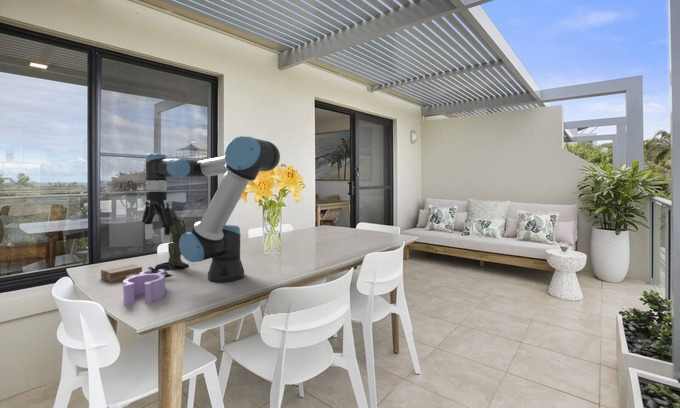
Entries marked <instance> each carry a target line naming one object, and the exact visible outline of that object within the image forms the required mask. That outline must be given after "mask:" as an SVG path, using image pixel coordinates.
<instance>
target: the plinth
mask: <svg viewBox="0 0 680 408" xmlns="http://www.w3.org/2000/svg"><path fill="white" fill-rule="evenodd" d="M142 271H143V266H141V265H140V266H139V265H137V264H133V263H130V264H124V265H120V266H114V267H108V268H102V269H100V280H103V281H105V282H108V283H110V284H111V283H116V282H120V281H124V280H125V279H126V276H128V275H133V274H140V272H142Z"/></svg>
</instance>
